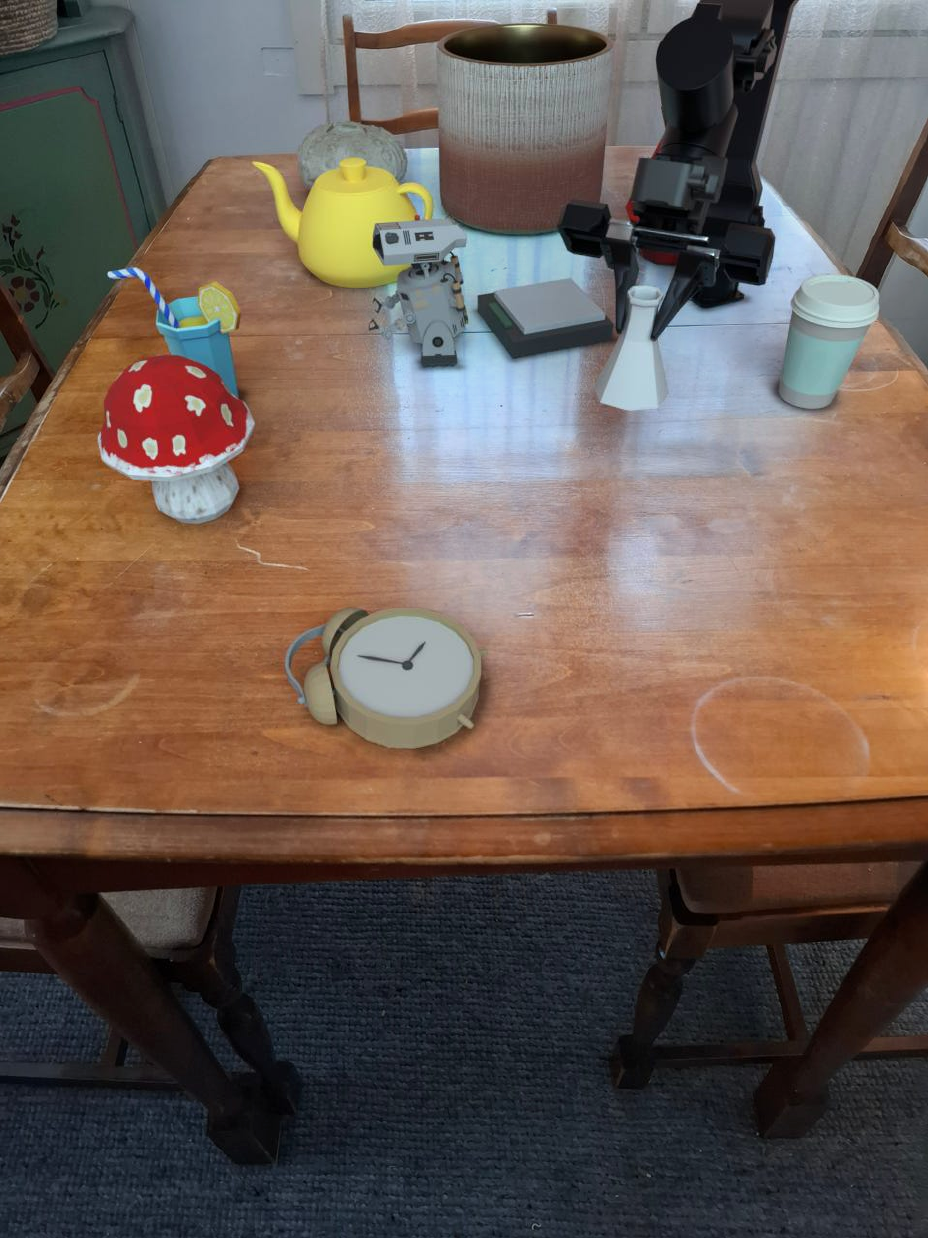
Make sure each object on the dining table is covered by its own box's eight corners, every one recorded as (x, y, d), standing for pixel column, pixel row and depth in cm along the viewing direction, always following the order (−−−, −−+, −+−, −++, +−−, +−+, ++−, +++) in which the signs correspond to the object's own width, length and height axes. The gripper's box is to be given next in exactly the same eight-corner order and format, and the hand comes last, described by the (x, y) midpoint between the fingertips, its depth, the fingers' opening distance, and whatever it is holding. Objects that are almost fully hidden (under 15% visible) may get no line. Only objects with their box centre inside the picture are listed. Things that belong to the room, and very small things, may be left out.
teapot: (253, 289, 110) (230, 181, 100) (289, 237, 122) (271, 136, 112) (432, 296, 107) (427, 187, 97) (450, 242, 119) (448, 140, 109)
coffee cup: (846, 381, 91) (884, 276, 82) (844, 421, 85) (885, 314, 77) (768, 370, 93) (798, 266, 84) (762, 408, 87) (793, 302, 79)
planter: (552, 254, 116) (564, 74, 100) (409, 220, 125) (398, 51, 109) (625, 197, 130) (645, 32, 114) (491, 171, 140) (493, 15, 124)
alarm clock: (473, 738, 55) (261, 689, 55) (461, 774, 59) (263, 728, 59) (495, 620, 63) (309, 577, 62) (484, 659, 66) (308, 618, 66)
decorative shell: (387, 168, 141) (382, 103, 134) (425, 202, 130) (421, 133, 123) (290, 185, 137) (279, 118, 129) (320, 221, 126) (310, 151, 118)
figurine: (376, 333, 101) (363, 207, 90) (467, 330, 101) (465, 204, 90) (373, 370, 95) (358, 240, 84) (470, 367, 95) (468, 236, 84)
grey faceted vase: (666, 417, 75) (686, 315, 67) (589, 409, 76) (600, 308, 69) (669, 376, 80) (688, 277, 72) (597, 369, 81) (608, 271, 73)
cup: (136, 416, 89) (87, 282, 78) (165, 379, 94) (123, 249, 83) (256, 425, 87) (223, 290, 76) (279, 388, 92) (251, 256, 81)
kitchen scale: (569, 295, 107) (571, 273, 105) (611, 340, 98) (614, 316, 96) (477, 311, 104) (477, 288, 102) (513, 358, 96) (513, 335, 94)
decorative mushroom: (232, 445, 85) (194, 308, 74) (299, 509, 77) (268, 368, 66) (105, 498, 79) (43, 358, 68) (164, 573, 71) (105, 429, 60)
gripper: (572, 94, 66) (517, 282, 67) (805, 120, 60) (740, 324, 62) (594, 167, 76) (546, 328, 78) (794, 194, 71) (738, 367, 72)
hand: (635, 336), depth 72 cm, fingers closed on grey faceted vase, 3 cm apart
